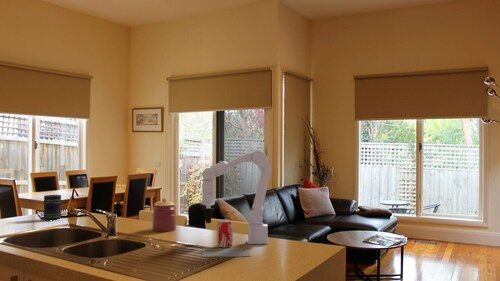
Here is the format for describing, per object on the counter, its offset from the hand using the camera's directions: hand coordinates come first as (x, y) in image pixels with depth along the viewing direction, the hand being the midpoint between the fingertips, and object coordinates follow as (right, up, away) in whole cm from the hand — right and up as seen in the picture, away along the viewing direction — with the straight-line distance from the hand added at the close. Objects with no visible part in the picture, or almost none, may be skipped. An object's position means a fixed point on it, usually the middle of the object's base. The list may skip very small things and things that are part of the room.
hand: (208, 221), depth 201 cm
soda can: (+8, -10, -8) cm, 15 cm away
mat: (+9, -10, -19) cm, 24 cm away
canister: (-27, -11, +31) cm, 43 cm away
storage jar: (-102, -11, +59) cm, 119 cm away
